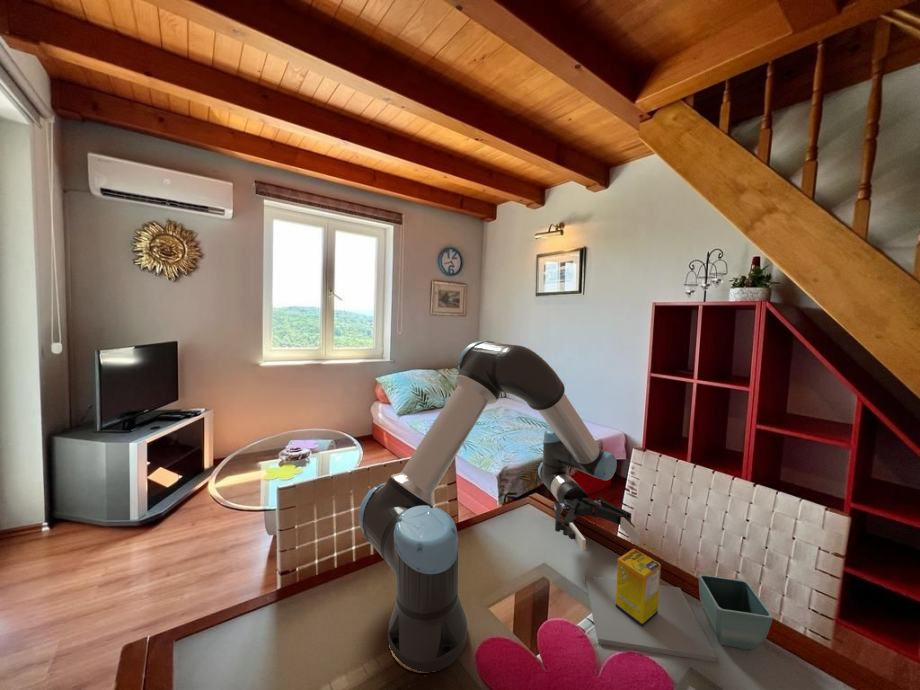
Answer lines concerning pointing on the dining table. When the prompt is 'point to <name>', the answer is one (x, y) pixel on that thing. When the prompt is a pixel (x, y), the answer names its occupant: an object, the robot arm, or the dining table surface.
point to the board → (648, 623)
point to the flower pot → (734, 611)
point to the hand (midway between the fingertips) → (611, 542)
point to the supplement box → (638, 586)
